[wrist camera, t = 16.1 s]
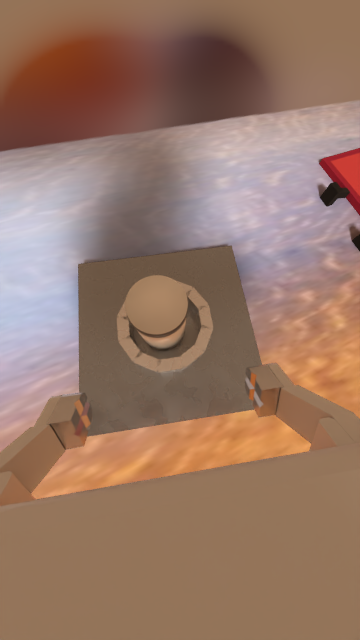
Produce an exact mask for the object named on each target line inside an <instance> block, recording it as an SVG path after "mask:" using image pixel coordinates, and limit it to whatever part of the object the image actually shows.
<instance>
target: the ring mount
mask: <svg viewBox="0 0 360 640" xmlns="http://www.w3.org/2000/svg"><path fill="white" fill-rule="evenodd" d="M153 275H162V276H166V277H169V278H172V279H174V280H175V281H177V282H178V283H179V284H180V285H181V286H182V287H183V289H184V291H185V293H186V295H187V299H188V313H187V317H186V324H185V332H184V336H183V338H182V340H181V342H180V343H179V344H178V345H177V346H175V347H174V348H172V349H169V350H156V349H154V348H152V347H150V346H149V345H148V344H147V343H146V342H145V341H144V339H143V338H142V337H141V335H140V334H139V332H138V331H137V330H136V329H135V328H134V327H133V325H132V324H131V323H130V321H129V319H128V317H127V314H126V310H125V300H126V296H127V294H128V292H129V290H130V289H131V287H132V286H133V285H134V284H135V283H136V282H138V281H139V280H141V279H143V278H145V277H148V276H153ZM78 286H79V393H85V394H86V396H87V401H86V402H88V403H89V404H90V405H91V407H92V421H91V424H90V425H89V426H88V427H87V428H86V429H87V431H88V435H87V437H88V436H94V435H100V434H106V433H112V432H118V431H125V430H131V429H137V428H143V427H149V426H155V425H161V424H168V423H174V422H180V421H186V420H192V419H198V418H204V417H211V416H217V415H223V414H229V413H235V412H241V411H247V410H254V407H253V401H252V400H251V399H249V397H248V395H247V393H246V389H245V379H246V378H247V376H246V374H245V372H246V368H247V367H253V366H259V365H262V363H261V360H260V356H259V352H258V348H257V344H256V340H255V336H254V332H253V328H252V324H251V320H250V316H249V312H248V308H247V305H246V301H245V297H244V293H243V289H242V285H241V281H240V277H239V273H238V269H237V265H236V261H235V257H234V254H233V250H232V246H224V247H216V248H208V249H199V250H191V251H183V252H175V253H166V254H158V255H150V256H141V257H133V258H125V259H117V260H108V261H100V262H92V263H83V264H78Z"/></svg>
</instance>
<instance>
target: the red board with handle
mask: <svg viewBox="0 0 360 640" xmlns="http://www.w3.org/2000/svg"><path fill="white" fill-rule="evenodd" d="M319 164H320V165H321V167H322V168H323V169H324V170H325V172H326V173H327V174H328V176H329V177H330V178H331V179H332V181H333V183H330V185H329V186H328V187H327V189H326V190H325V191H324V193H323V194H322V195H321V197H320V198H321V200H322V201H323V202H324V204H325V205H326V206H330V205H332V204H333V203H334V202H335V201H336V199H337V198H345V197H346V199H347V200H348V201H349V202H350V204H351V205H352V206H353V207H354V209H355V210H356V211H357V213H358V214H359V215H360V148H358V149H355V150H351V151H348V152H344V153H341V154H337V155H334V156H330V157H327V158H323V159H322V160H321V162H320V163H319ZM352 242H353V243H354V244H355V246H356V247H357V248H358V250H359V251H360V235H358V236H357V237H356V238H355V239H354V240H352Z"/></svg>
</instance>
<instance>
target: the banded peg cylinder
mask: <svg viewBox="0 0 360 640" xmlns="http://www.w3.org/2000/svg"><path fill="white" fill-rule="evenodd" d="M125 310H126V314H127V317H128V319H129V321H130V323H131V324H132V325H133V327H134V328H135V329H136V330H137V331H138V332H139V334H140V335H141V337H142V338H143V339H144V341H145V342H146V343H147V344H148V345H149V346H150V347H152V348H154V349H156V350H169V349H172V348H174V347H175V346H177V345H178V344H179V343H180V342H181V340H182V338H183V336H184V332H185V324H186V317H187V313H188V299H187V295H186V293H185V291H184V289H183V287H182V286H181V285H180V284H179V283H178V282H177V281H175V280H174V279H172V278H169V277H166V276H162V275H153V276H148V277H145V278H143V279H141V280H139V281H138V282H136V283H135V284H134V285H133V286H132V287H131V289H130V290H129V292H128V294H127V296H126V300H125Z"/></svg>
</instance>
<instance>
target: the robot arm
mask: <svg viewBox="0 0 360 640" xmlns="http://www.w3.org/2000/svg"><path fill="white" fill-rule="evenodd" d="M245 374H246V376H247V378H246V379H245V389H246V393H247V395H248V397H249V399H251V400H252V401H253V407H254V409H255V411H256V413H257V415H258V417H264V416H271V415H276V416H277V417H278V418H279V419H281V420H282V421H283V422H284V423H286V424H287V425H288V426H290V427H291V428H292V429H293V430H295V431H296V432H297V433H299V434H300V435H301V436H302V437H304V438H305V439H306V440H308V441H309V442H310V443H311V447H310V450H309V451H308V452H303V453H297V454H291V455H286V456H280V457H274V458H269V459H263V460H257V461H252V462H246V463H240V464H235V465H229V466H223V467H218V468H212V469H206V470H201V471H195V472H189V473H184V474H178V475H173V476H167V477H161V478H156V479H150V480H144V481H139V482H133V483H127V484H122V485H116V486H110V487H105V488H99V489H93V490H88V491H82V492H76V493H71V494H65V495H59V496H54V497H48V498H42V499H37V500H36V499H35V498H34V497H33V496H32V494H31V493H32V492H33V490H34V489H35V488H36V487H37V485H38V484H39V483H40V482H41V480H42V479H43V478H44V477H45V476H46V474H47V473H48V472H49V471H50V469H51V468H52V467H53V466H54V464H55V463H56V462H57V461H58V459H59V458H60V457H61V456H62V454H63V453H64V452H65V450H66V449H72V448H77V447H82V446H84V445H85V441H86V438H87V435H88V431H87V429H86V428H87V427H88V426H89V425H90V424H91V421H92V407H91V405H90V404H89V403H88V402H86V401H87V396H86V394H85V393H75V394H67V395H61V396H53V397H51V398H50V399H49V400H48V402H47V404H46V406H45V408H44V409H43V411H42V413H41V415H40V417H39V418H38V420H37V422H36V424H35V426H34V427H30V428H29V429H28V430H27V431H25V432H24V433H23V434H22V435H21V436H19V437H18V438H17V439H16V440H15V441H13V442H12V443H11V444H10V445H9V446H7V447H6V448H5V449H4V450H3V451H1V452H0V640H360V419H359V418H358V417H357V416H356V415H355V414H354V413H353V412H351V411H349V410H347V409H345V408H343V407H341V406H339V405H337V404H335V403H333V402H331V401H329V400H327V399H325V398H323V397H321V396H319V395H317V394H315V393H313V392H311V391H309V390H307V389H305V388H303V387H301V386H299V385H294V384H293V382H292V381H291V380H290V379H289V378H288V376H287V375H286V374H285V373H284V371H283V370H282V369H281V368H280V367H279V365H278V364H277V363H271V364H266V365H259V366H253V367H247V368H246V372H245Z"/></svg>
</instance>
